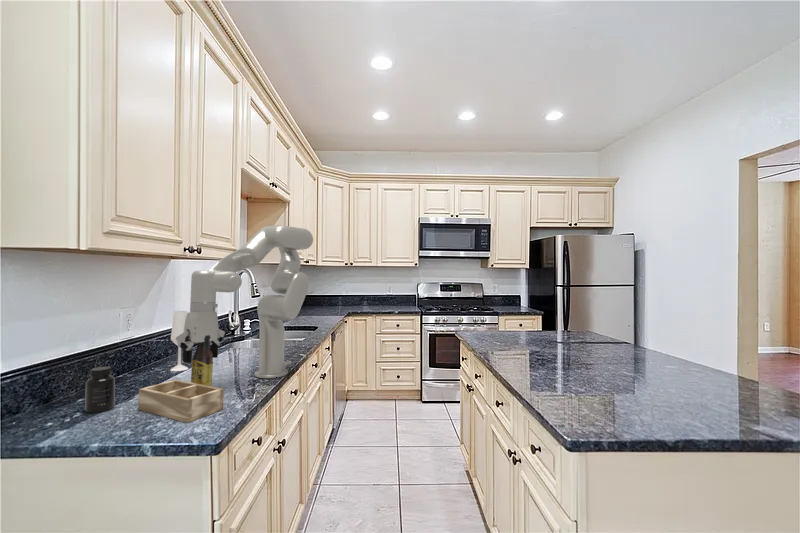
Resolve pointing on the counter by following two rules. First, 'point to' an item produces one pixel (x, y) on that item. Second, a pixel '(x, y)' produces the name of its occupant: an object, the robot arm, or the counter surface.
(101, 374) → the supplement bottle
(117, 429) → the counter surface
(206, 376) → the sauce bottle
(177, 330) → the champagne flute
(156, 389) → the rail
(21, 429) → the counter surface
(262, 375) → the robot arm
